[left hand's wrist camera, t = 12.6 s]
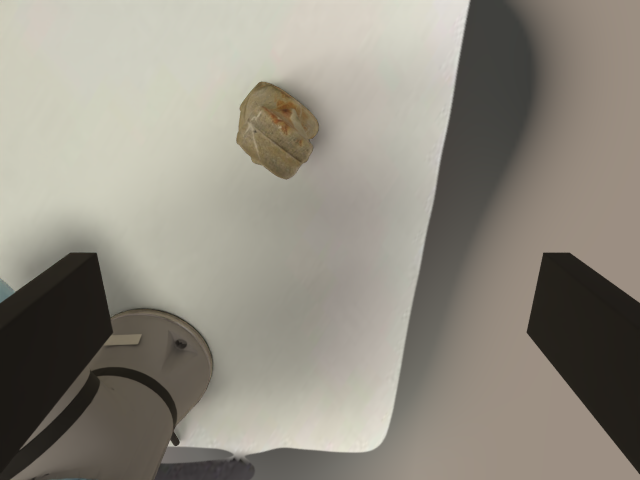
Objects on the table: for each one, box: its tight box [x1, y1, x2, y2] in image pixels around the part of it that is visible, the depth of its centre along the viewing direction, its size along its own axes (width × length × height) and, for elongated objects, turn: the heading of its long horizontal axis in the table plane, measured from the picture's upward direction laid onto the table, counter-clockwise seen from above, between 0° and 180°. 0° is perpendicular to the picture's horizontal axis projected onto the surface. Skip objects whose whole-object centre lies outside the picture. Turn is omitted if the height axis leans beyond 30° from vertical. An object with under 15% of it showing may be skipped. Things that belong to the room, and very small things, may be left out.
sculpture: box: [236, 82, 319, 179], centre depth 36 cm, size 6×7×15 cm
